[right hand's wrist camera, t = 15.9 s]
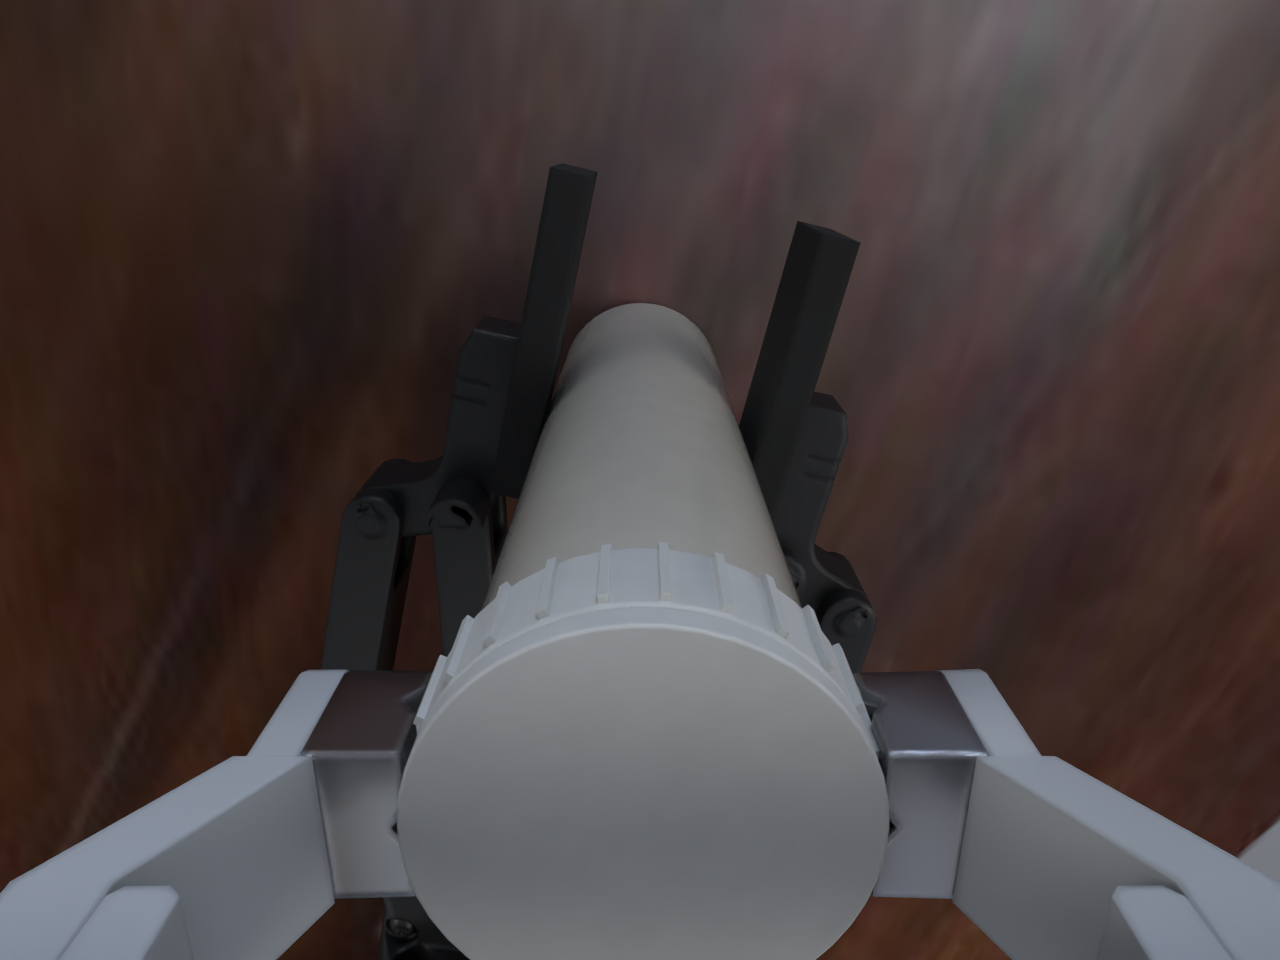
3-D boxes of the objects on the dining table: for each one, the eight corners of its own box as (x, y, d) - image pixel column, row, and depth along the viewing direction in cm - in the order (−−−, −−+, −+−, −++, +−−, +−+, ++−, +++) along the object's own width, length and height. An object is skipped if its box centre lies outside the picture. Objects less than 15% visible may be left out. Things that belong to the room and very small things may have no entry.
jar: (731, 316, 25) (908, 653, 8) (702, 462, 26) (805, 988, 10) (574, 290, 24) (445, 588, 8) (554, 440, 26) (412, 942, 10)
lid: (895, 555, 9) (945, 638, 8) (820, 912, 11) (850, 1036, 10) (427, 519, 9) (384, 595, 8) (426, 885, 11) (391, 1008, 9)
